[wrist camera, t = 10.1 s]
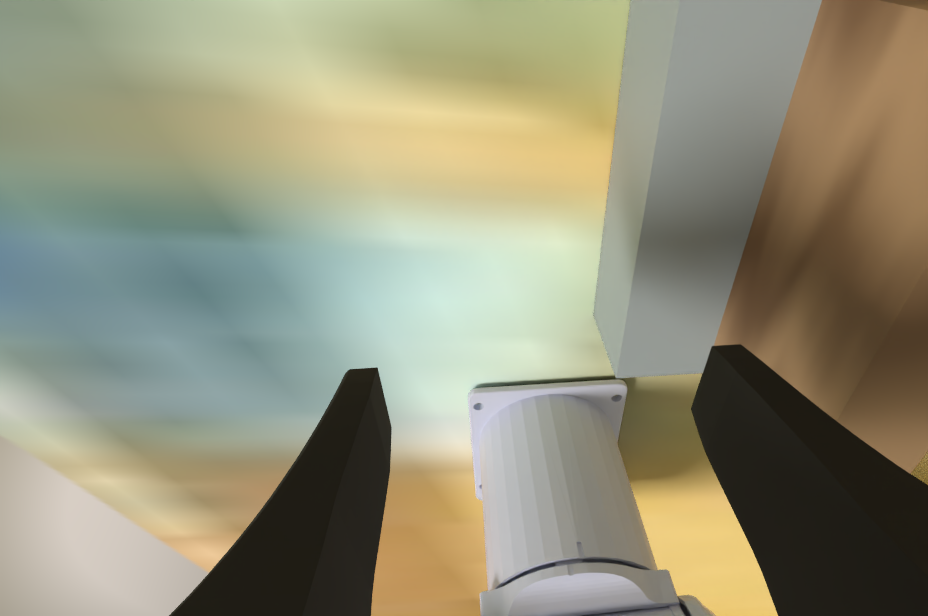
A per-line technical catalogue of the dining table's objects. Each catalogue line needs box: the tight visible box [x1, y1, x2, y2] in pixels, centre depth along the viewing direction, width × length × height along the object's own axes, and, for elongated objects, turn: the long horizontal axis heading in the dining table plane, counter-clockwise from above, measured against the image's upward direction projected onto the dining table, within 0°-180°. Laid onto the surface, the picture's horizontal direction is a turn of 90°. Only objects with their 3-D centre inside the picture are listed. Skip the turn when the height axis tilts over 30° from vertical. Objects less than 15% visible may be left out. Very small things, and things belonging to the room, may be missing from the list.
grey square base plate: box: [593, 0, 822, 378], centre depth 18 cm, size 14×13×4 cm
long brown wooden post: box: [714, 0, 928, 474], centre depth 14 cm, size 12×3×6 cm, turn 3°
